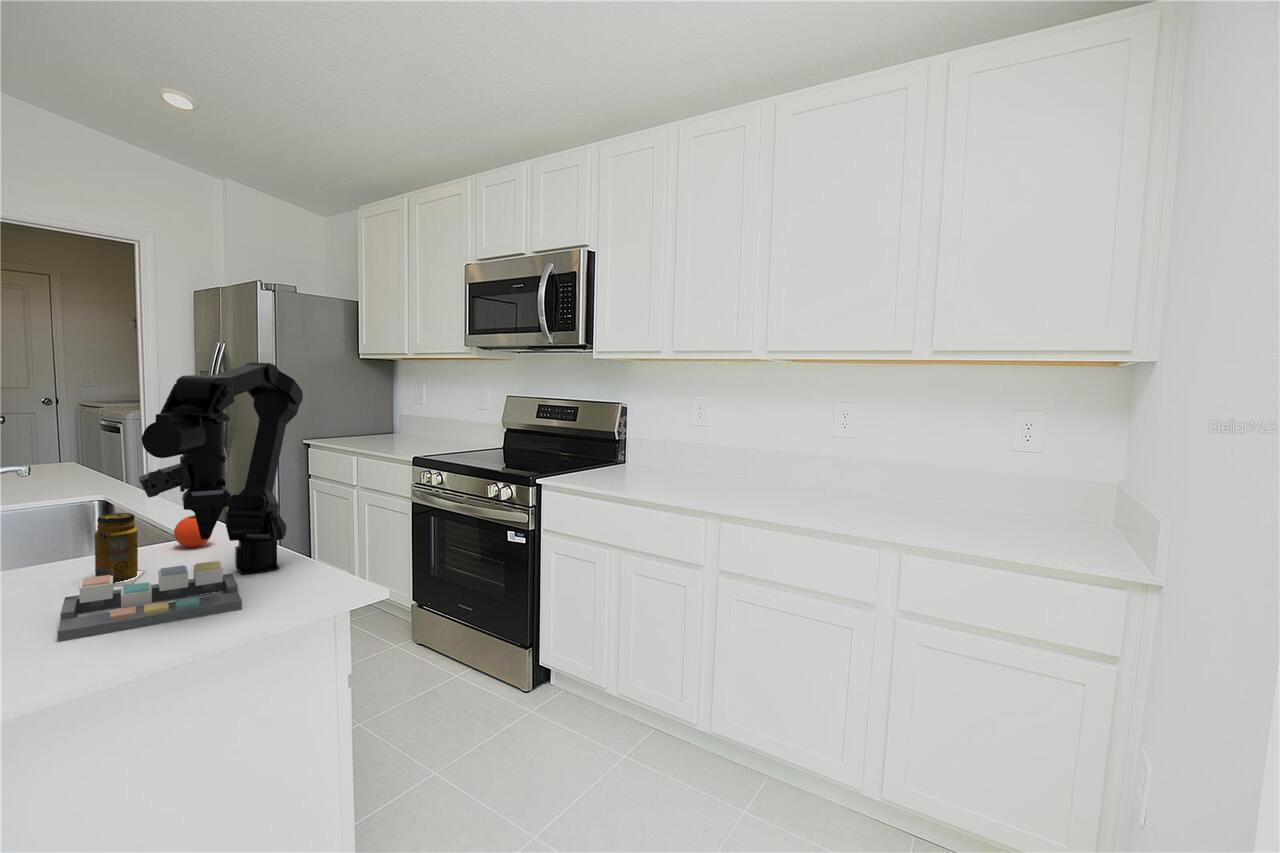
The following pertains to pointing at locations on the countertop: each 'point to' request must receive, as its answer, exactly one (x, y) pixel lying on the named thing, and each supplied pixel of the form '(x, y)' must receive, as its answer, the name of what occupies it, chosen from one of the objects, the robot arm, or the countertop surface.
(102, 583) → the block
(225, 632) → the countertop surface
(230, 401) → the robot arm
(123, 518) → the condiment
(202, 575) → the key mustard
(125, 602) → the key teal
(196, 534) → the clementine
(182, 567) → the key slate
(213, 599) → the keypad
